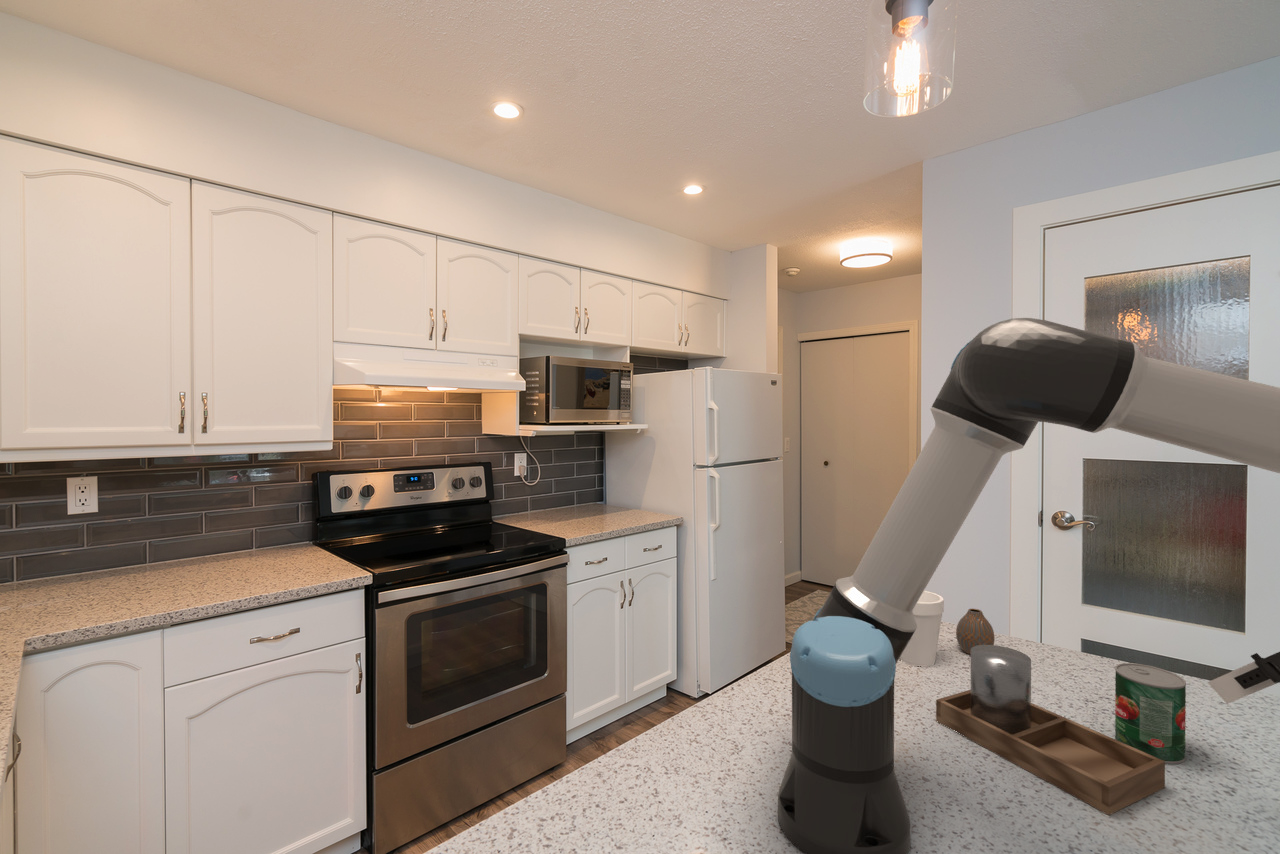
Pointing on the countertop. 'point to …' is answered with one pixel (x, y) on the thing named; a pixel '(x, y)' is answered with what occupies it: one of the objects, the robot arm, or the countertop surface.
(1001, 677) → the seated cylinder
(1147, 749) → the canned tomato
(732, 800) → the countertop surface
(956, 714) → the wooden divided tray
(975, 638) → the vase
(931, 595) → the foam cup
